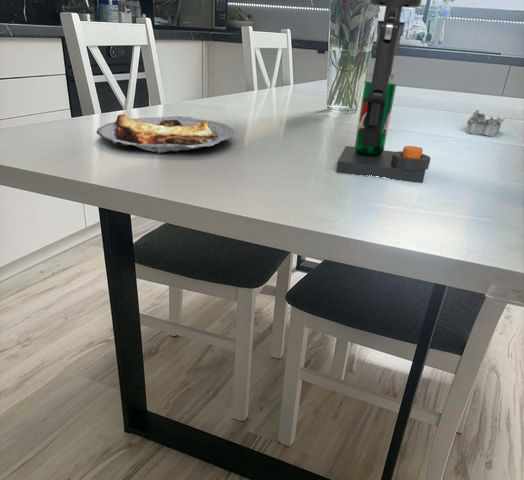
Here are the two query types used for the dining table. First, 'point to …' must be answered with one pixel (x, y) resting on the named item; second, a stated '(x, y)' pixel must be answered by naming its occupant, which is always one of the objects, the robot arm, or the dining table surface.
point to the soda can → (385, 122)
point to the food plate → (165, 133)
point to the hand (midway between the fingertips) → (370, 141)
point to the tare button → (412, 152)
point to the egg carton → (483, 125)
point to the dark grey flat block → (383, 165)
